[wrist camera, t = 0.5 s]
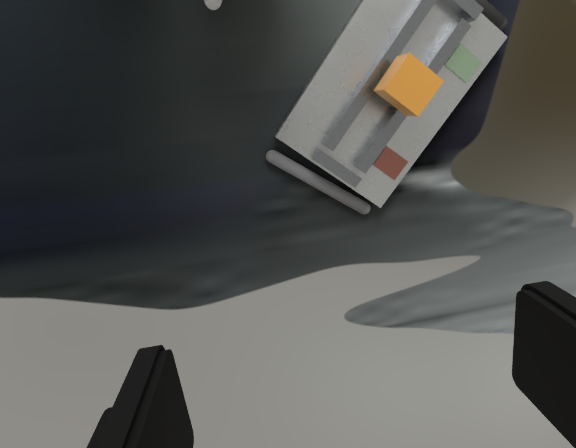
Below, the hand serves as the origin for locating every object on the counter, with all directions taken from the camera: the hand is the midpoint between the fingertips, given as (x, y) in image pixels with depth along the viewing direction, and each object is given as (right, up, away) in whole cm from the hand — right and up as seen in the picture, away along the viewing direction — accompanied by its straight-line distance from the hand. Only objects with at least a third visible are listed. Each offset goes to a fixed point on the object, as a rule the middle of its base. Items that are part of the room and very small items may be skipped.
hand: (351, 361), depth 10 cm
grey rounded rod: (+2, +8, +33) cm, 34 cm away
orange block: (+9, +17, +29) cm, 35 cm away
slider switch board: (+8, +18, +31) cm, 37 cm away
